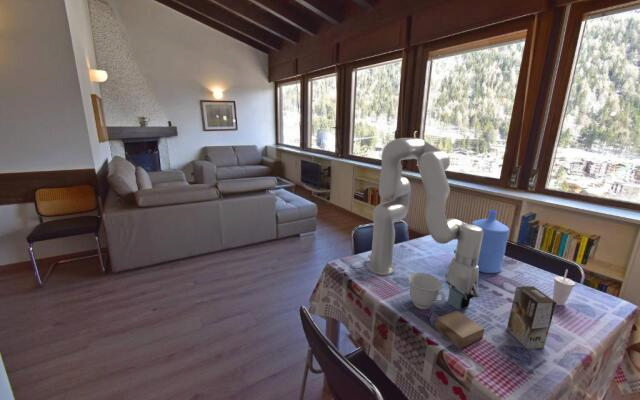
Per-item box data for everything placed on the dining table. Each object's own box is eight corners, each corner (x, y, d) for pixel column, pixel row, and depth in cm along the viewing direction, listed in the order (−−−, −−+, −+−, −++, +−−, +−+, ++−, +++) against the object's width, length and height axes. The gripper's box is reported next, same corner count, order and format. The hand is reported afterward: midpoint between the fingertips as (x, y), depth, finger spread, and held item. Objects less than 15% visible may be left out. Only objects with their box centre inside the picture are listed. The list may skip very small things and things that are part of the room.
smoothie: (564, 300, 115) (574, 268, 112) (572, 309, 110) (582, 276, 106) (545, 296, 117) (554, 264, 114) (551, 305, 112) (561, 272, 108)
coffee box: (545, 348, 89) (558, 303, 85) (526, 349, 89) (538, 303, 85) (522, 328, 98) (533, 285, 94) (505, 328, 98) (515, 286, 93)
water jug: (501, 264, 143) (513, 210, 136) (500, 277, 131) (513, 218, 123) (466, 255, 151) (476, 204, 144) (462, 267, 138) (472, 211, 131)
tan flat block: (434, 328, 97) (436, 317, 96) (455, 320, 101) (457, 310, 100) (460, 348, 88) (462, 337, 87) (482, 339, 93) (484, 328, 92)
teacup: (428, 323, 98) (432, 297, 96) (398, 299, 111) (400, 276, 109) (452, 314, 104) (457, 289, 101) (421, 292, 117) (424, 270, 114)
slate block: (447, 302, 111) (450, 288, 109) (457, 299, 113) (459, 285, 111) (458, 309, 107) (460, 295, 105) (468, 306, 109) (470, 292, 107)
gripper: (440, 250, 111) (433, 292, 116) (479, 271, 96) (470, 319, 101) (454, 247, 114) (447, 289, 119) (495, 268, 99) (485, 314, 104)
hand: (458, 302), depth 110 cm, fingers closed on slate block, 5 cm apart
